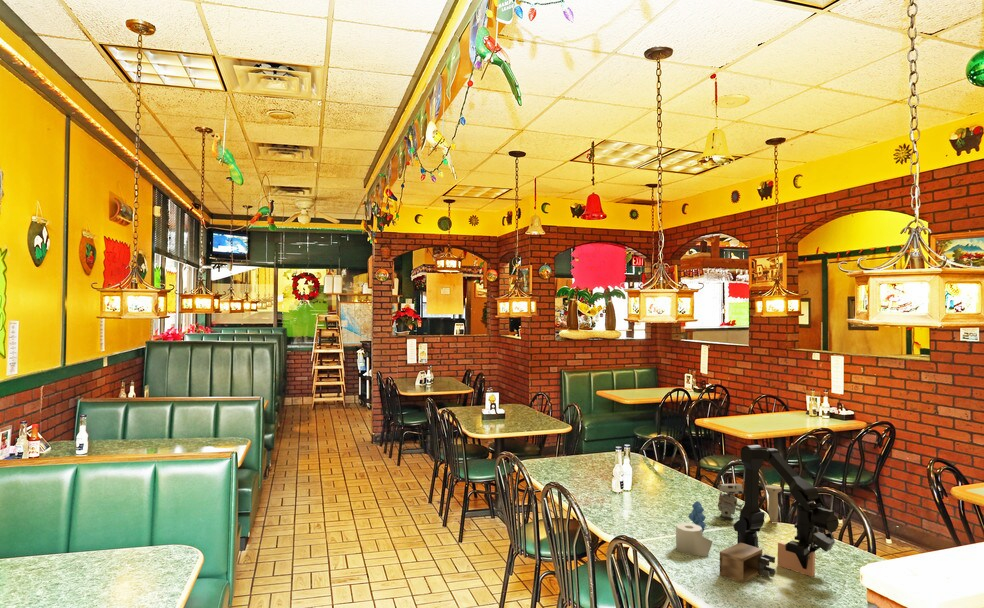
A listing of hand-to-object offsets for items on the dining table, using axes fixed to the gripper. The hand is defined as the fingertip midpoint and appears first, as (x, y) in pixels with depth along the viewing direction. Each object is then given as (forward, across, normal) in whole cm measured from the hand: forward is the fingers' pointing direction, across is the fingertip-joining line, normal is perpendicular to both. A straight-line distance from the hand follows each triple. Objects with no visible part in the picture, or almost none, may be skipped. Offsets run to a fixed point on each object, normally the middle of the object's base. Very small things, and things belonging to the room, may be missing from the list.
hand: (806, 567), depth 208 cm
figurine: (+2, +35, +47) cm, 59 cm away
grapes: (+2, +7, +47) cm, 48 cm away
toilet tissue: (+2, -13, +36) cm, 39 cm away
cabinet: (+2, -18, +14) cm, 23 cm away
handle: (+2, +45, +33) cm, 56 cm away
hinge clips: (+2, -12, +8) cm, 14 cm away
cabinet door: (+2, 0, +4) cm, 4 cm away
